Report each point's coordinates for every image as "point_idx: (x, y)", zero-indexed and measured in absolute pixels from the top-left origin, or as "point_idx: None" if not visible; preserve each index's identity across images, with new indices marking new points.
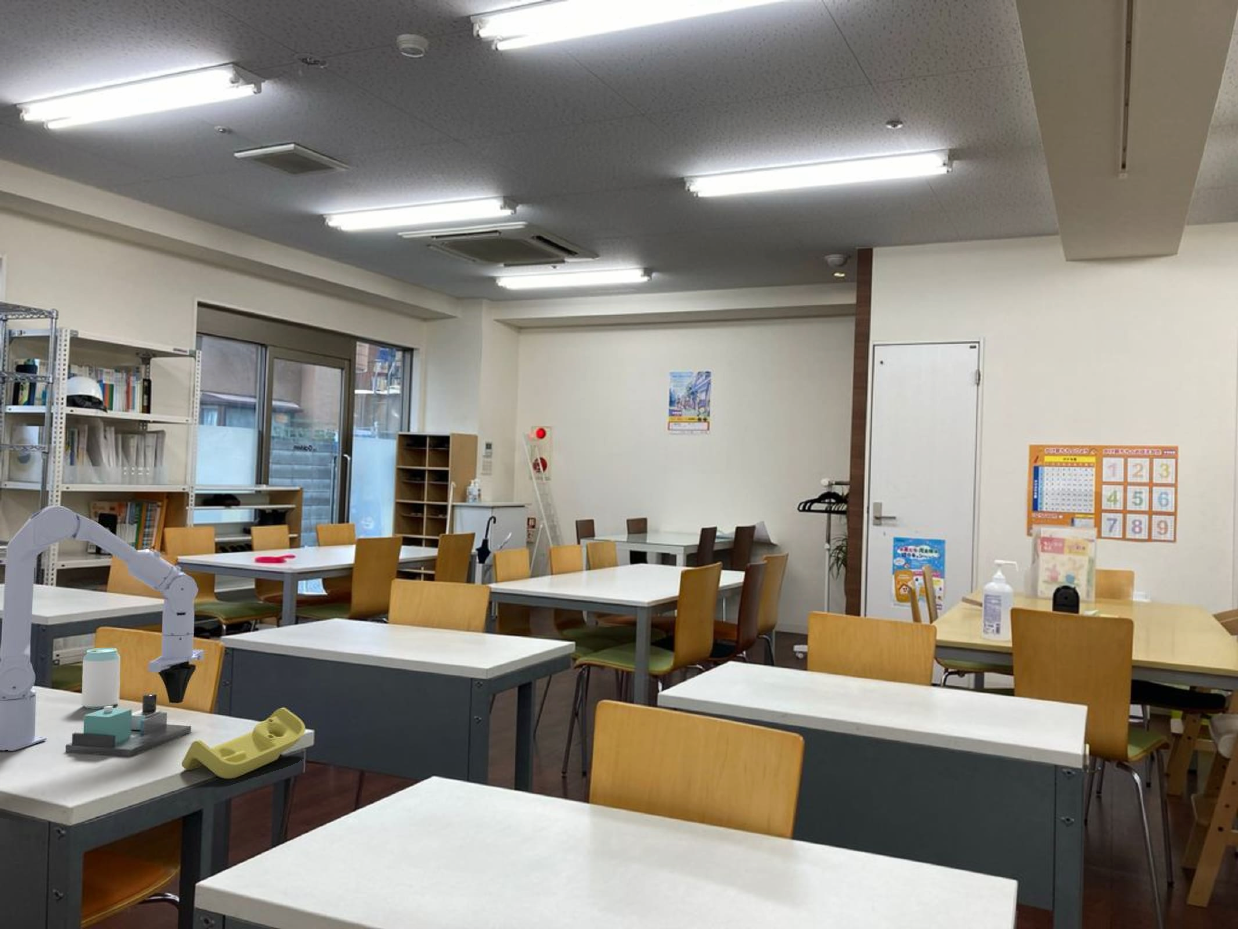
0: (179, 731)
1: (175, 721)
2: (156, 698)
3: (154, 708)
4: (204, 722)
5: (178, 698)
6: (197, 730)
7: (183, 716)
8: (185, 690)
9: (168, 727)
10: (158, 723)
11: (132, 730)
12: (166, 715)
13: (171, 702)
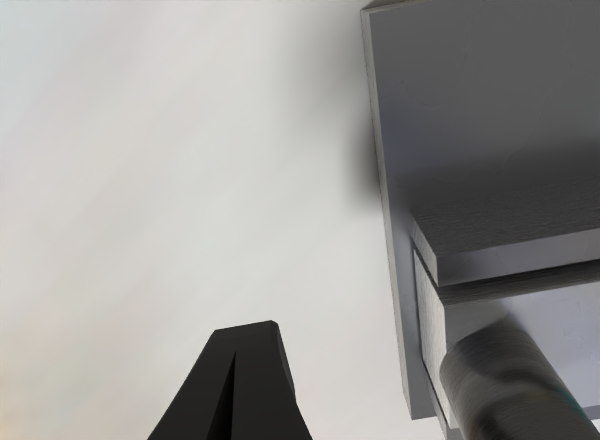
0: None
1: (182, 321)
2: (499, 425)
3: (504, 344)
4: (91, 153)
5: (280, 349)
6: (287, 12)
7: (76, 365)
8: (178, 404)
9: (465, 144)
10: (517, 207)
11: None
12: (434, 244)
13: (289, 376)
